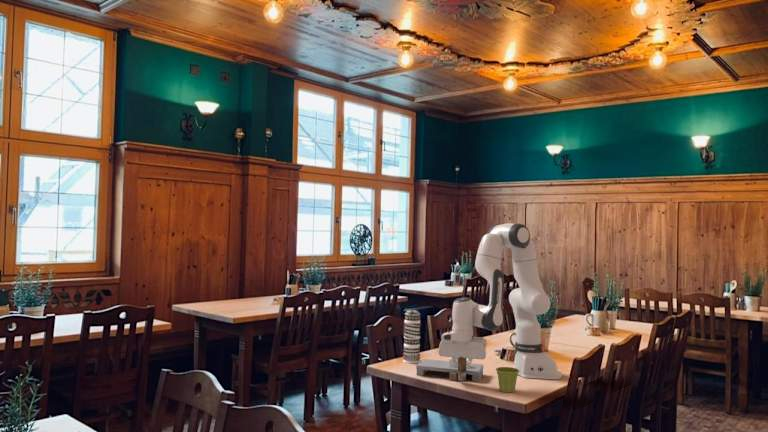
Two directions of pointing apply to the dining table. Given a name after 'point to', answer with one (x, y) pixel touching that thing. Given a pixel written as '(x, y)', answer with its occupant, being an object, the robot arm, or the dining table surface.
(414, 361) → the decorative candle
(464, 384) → the dining table surface
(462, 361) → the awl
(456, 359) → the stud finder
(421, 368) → the grey pallet
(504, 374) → the plant pot
